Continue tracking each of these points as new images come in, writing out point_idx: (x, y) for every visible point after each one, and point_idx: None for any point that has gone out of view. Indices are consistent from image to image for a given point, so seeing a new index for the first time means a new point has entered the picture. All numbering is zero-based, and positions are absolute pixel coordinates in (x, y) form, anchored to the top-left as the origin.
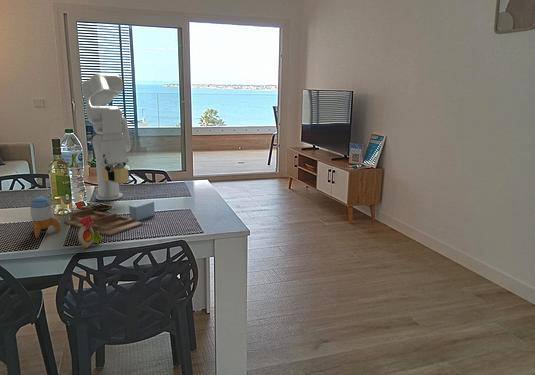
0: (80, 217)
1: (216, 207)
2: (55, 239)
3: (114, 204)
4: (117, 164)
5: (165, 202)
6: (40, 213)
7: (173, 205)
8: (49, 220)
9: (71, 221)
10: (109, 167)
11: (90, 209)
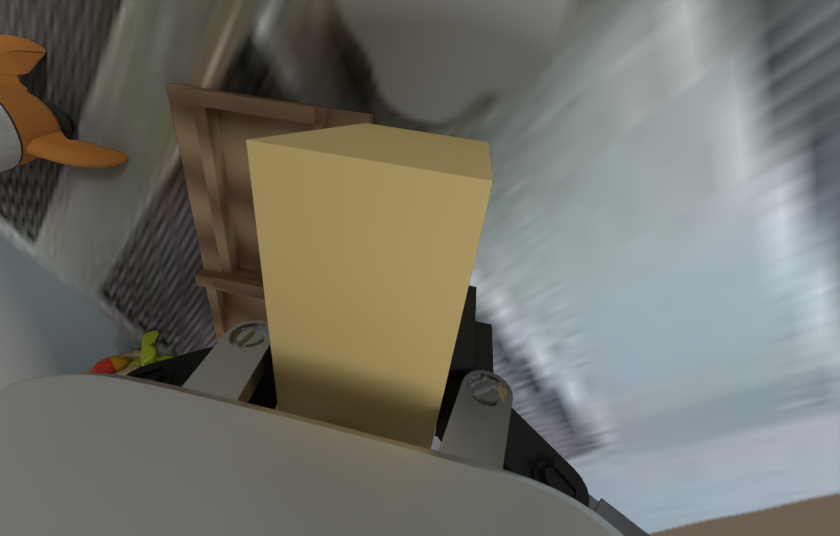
0: (247, 114)
1: (648, 510)
2: (91, 227)
3: (583, 45)
4: (439, 450)
5: (703, 322)
6: None
7: (645, 377)
8: (19, 165)
9: (189, 126)
10: (298, 345)
11: (297, 121)
